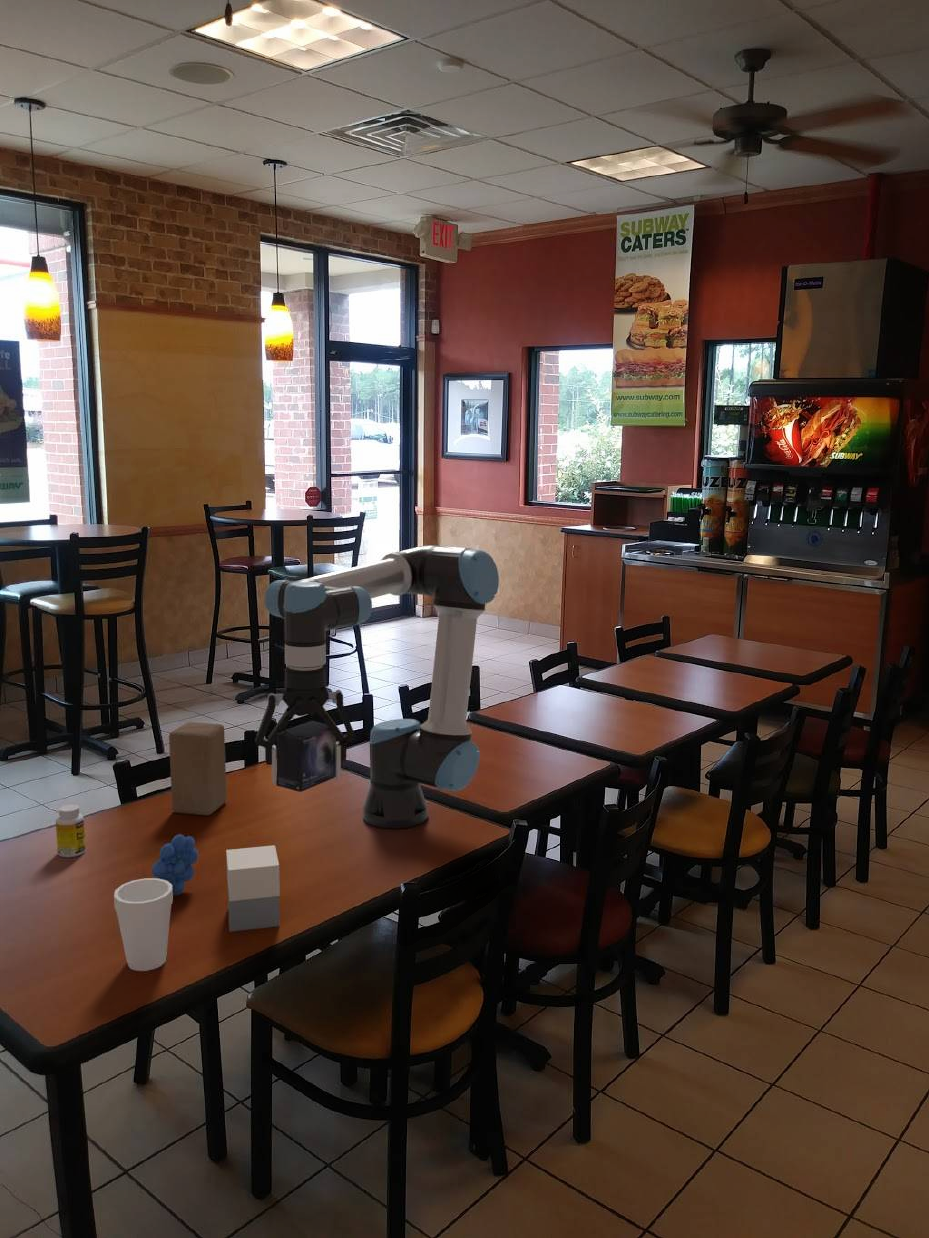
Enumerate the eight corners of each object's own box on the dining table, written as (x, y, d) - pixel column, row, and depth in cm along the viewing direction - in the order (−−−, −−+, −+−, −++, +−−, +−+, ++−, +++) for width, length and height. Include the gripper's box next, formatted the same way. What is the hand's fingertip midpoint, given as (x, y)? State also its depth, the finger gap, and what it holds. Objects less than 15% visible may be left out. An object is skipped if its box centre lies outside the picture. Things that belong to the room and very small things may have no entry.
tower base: (276, 904, 190) (275, 875, 189) (279, 926, 182) (278, 896, 181) (228, 909, 188) (227, 879, 187) (229, 932, 180) (228, 901, 178)
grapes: (181, 878, 200) (179, 822, 198) (207, 885, 197) (204, 829, 195) (137, 901, 190) (134, 843, 188) (163, 910, 187) (160, 850, 185)
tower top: (275, 874, 189) (274, 845, 188) (279, 895, 181) (279, 865, 180) (227, 879, 187) (226, 849, 186) (229, 901, 178) (228, 870, 177)
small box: (301, 793, 181) (301, 738, 179) (274, 786, 184) (274, 732, 183) (337, 777, 190) (337, 725, 188) (311, 771, 193) (311, 719, 192)
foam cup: (181, 947, 174) (178, 878, 171) (168, 975, 165) (164, 903, 162) (127, 947, 174) (123, 878, 171) (110, 975, 164) (106, 903, 162)
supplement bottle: (80, 858, 209) (77, 812, 207) (53, 858, 209) (50, 812, 207) (89, 847, 214) (86, 802, 213) (63, 847, 214) (60, 802, 212)
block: (210, 817, 232) (206, 735, 228) (170, 813, 234) (167, 732, 230) (228, 802, 241) (225, 723, 238) (190, 798, 243) (187, 720, 240)
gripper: (365, 659, 190) (365, 768, 194) (239, 663, 184) (241, 775, 188) (371, 668, 183) (371, 781, 186) (240, 672, 177) (242, 789, 181)
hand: (306, 778), depth 187 cm, fingers closed on small box, 11 cm apart
